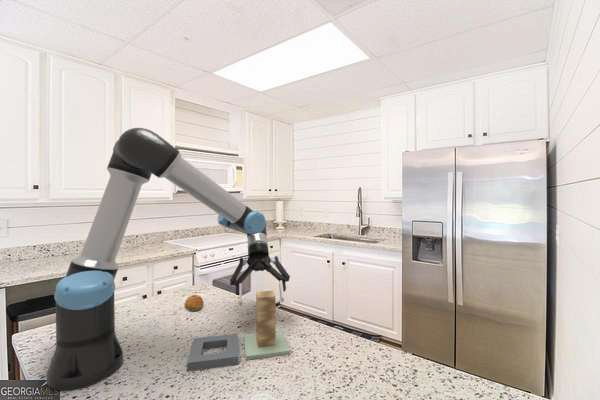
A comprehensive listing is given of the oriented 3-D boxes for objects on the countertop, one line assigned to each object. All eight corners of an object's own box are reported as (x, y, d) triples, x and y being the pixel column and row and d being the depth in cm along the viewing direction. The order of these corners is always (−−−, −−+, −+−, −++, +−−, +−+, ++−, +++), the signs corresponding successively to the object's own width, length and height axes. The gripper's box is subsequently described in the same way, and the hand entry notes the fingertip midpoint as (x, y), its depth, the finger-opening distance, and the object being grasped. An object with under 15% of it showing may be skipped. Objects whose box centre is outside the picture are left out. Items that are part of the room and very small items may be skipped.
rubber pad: (245, 360, 76) (245, 356, 75) (243, 337, 87) (243, 334, 87) (290, 354, 78) (290, 350, 78) (282, 333, 90) (282, 330, 90)
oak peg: (257, 347, 80) (257, 297, 79) (256, 338, 85) (256, 291, 84) (275, 345, 81) (275, 296, 81) (273, 336, 86) (273, 290, 85)
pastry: (205, 310, 108) (205, 300, 108) (186, 314, 105) (186, 304, 105) (201, 302, 116) (201, 292, 116) (183, 305, 113) (183, 295, 113)
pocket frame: (186, 371, 71) (186, 363, 71) (193, 345, 83) (193, 338, 83) (238, 364, 74) (238, 356, 74) (237, 340, 86) (237, 333, 86)
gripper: (289, 251, 113) (297, 303, 98) (223, 254, 107) (222, 310, 93) (292, 240, 107) (301, 293, 93) (223, 243, 102) (222, 300, 87)
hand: (262, 302), depth 93 cm, fingers open, 13 cm apart
